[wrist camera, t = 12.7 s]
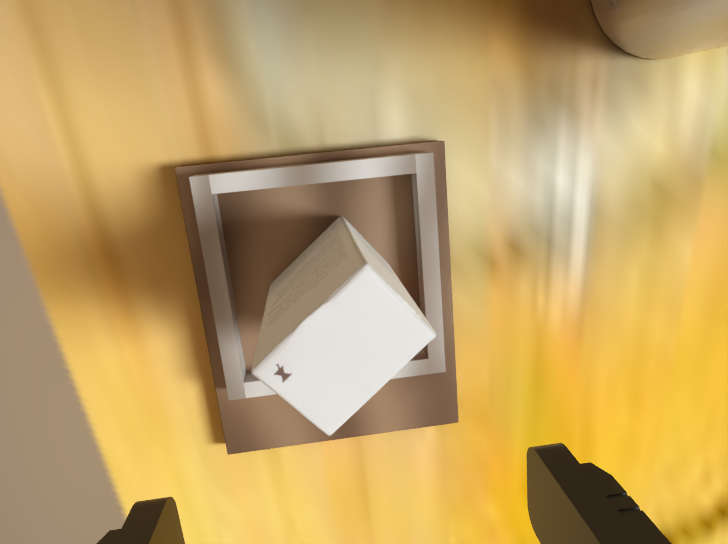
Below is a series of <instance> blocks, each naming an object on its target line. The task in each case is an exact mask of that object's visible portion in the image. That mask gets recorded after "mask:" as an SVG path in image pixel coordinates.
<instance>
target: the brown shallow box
mask: <svg viewBox="0 0 728 544" xmlns="http://www.w3.org/2000/svg"><path fill="white" fill-rule="evenodd" d="M175 171H176V176H177V182H178V187H179V193H180V198H181V204H182V209H183V214H184V220H185V225H186V231H187V236H188V241H189V247H190V252H191V258H192V263H193V269H194V274H195V279H196V285H197V290H198V296H199V301H200V307H201V312H202V317H203V323H204V328H205V334H206V339H207V344H208V350H209V355H210V361H211V366H212V372H213V377H214V382H215V388H216V393H217V399H218V404H219V410H220V415H221V420H222V426H223V431H224V437H225V442H226V447H227V453H228V454H235V453H242V452H250V451H257V450H264V449H271V448H278V447H285V446H293V445H300V444H307V443H314V442H321V441H328V440H335V439H343V438H350V437H357V436H364V435H371V434H378V433H386V432H393V431H400V430H407V429H414V428H421V427H429V426H436V425H443V424H450V423H457V422H458V404H457V384H456V364H455V345H454V325H453V305H452V286H451V266H450V246H449V226H448V207H447V187H446V167H445V148H444V141H432V142H422V143H412V144H402V145H392V146H381V147H371V148H361V149H351V150H341V151H331V152H321V153H310V154H300V155H290V156H280V157H270V158H260V159H250V160H239V161H229V162H219V163H209V164H199V165H189V166H179V167H175ZM340 216H342V217H344V218H345V219H346V220H347V221H348V222H349V223H350V224H351V225H352V226H353V227H354V228H355V229H356V230H357V231H358V232H359V233H360V234H361V235H362V237H363V238H364V239H365V240H366V241H367V242H368V243H369V244H370V245H371V246H372V247H373V248H374V249H375V250H376V251H377V252H378V253H379V254H380V255H381V256H382V257H383V258H384V259H385V261H386V262H387V263H388V264H389V265H390V267H391V268H392V270H393V271H394V273H395V274H396V276H397V277H398V278H399V280H400V281H401V283H402V284H403V286H404V287H405V289H406V290H407V292H408V293H409V295H410V296H411V297H412V299H413V300H414V302H415V303H416V305H417V306H418V307H419V309H420V310H421V312H422V313H423V315H424V316H425V318H426V319H427V320H428V322H429V323H430V325H431V326H432V328H433V329H434V331H435V332H436V337H435V338H434V339H433V340H431V341H430V342H429V343H428V344H427V345H426V346H425V347H424V348H423V349H422V350H421V351H420V352H418V353H417V354H416V355H415V356H414V357H413V358H412V359H411V360H410V361H409V362H408V363H407V364H406V365H405V366H404V367H403V368H402V369H400V370H399V371H398V372H397V373H396V374H395V375H394V376H393V377H392V378H391V379H390V380H389V381H388V382H387V383H386V384H385V385H384V386H383V387H382V388H381V389H380V390H379V391H378V392H377V393H375V394H374V395H373V396H372V397H371V398H370V399H369V400H368V401H367V402H366V403H365V404H364V405H363V406H362V407H361V408H360V409H359V410H358V411H356V412H355V413H354V414H353V415H352V416H351V417H350V418H349V419H348V420H347V421H346V422H345V423H344V424H343V425H342V426H340V427H339V428H338V429H337V430H336V431H335V432H334V433H333V434H332V435H330V436H328V435H327V434H325V433H324V432H323V431H322V430H320V429H319V428H318V427H317V426H316V425H314V424H313V423H312V422H311V421H309V420H308V419H307V418H306V417H305V416H303V415H302V414H301V413H300V412H299V411H297V410H296V409H295V408H294V407H292V406H291V405H290V404H289V403H287V402H286V401H285V400H284V399H283V398H281V397H280V396H279V395H278V394H276V393H275V392H274V391H273V390H271V389H270V388H269V387H268V386H266V385H265V384H264V383H263V382H261V381H260V380H259V379H258V378H256V377H255V376H254V375H253V374H252V373H251V370H252V364H253V360H254V355H255V350H256V346H257V342H258V338H259V333H260V328H261V324H262V320H263V315H264V311H265V306H266V301H267V296H268V292H269V288H270V284H271V283H272V282H273V281H274V280H275V279H276V278H277V277H278V276H279V275H280V274H281V273H282V272H283V271H285V270H286V269H287V268H288V267H289V266H290V265H291V264H292V263H293V262H294V261H295V260H296V259H297V258H298V257H299V256H300V255H301V254H302V253H303V252H304V251H305V250H306V249H307V248H308V247H309V246H310V245H311V244H312V243H313V242H314V241H315V240H316V239H317V238H318V237H319V236H320V235H321V234H322V233H323V232H324V231H325V230H326V229H327V228H328V227H329V226H330V225H331V224H332V223H333V222H334V221H335V220H337V219H338V218H339V217H340Z"/></svg>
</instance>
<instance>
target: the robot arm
mask: <svg viewBox="0 0 728 544" xmlns="http://www.w3.org/2000/svg"><path fill="white" fill-rule="evenodd" d="M591 3H592V7H593V10H594V14H595V16H596V18H597V20H598V22H599V24H600V26H601V28H602V30H603V31H604V32H605V33H606V35H607V36H608V37H609V38H610V39H611V41H612V42H613V43H615V44H616V45H617V46H619V47H620V48H621V49H623V50H624V51H625V52H628V53H630V54H633V55H635V56H638V57H641V58H648V59H665V58H673V57H677V56H682V55H686V54H691V53H696V52H700V51H705V50H710V49H714V48H720V47H725V46H728V0H591ZM527 498H528V511H529V516H530V520H531V524H532V527H533V529H534V532H535V534H536V536H537V538H538V539H539V541H540V543H541V544H671V543H670V542H669V541H668V539H667V538H666V537H665V536H664V535H663V534H662V532H661V531H660V530H659V529H658V528H657V527H656V526H655V524H654V523H653V522H652V521H651V520H650V519H649V518H648V516H647V515H646V514H645V513H644V512H643V511H640V509H639V506H638V505H637V504H636V503H635V501H634V500H633V499H632V498H631V497H630V496H628V495H627V492H626V491H625V490H624V489H623V488H622V487H621V485H620V484H619V483H618V482H617V481H616V480H615V478H614V477H613V476H612V475H610V474H608V473H607V472H605V471H604V470H602V469H600V468H599V467H597V466H595V465H594V464H592V463H591V462H590V463H583V464H580V463H579V462H578V461H577V460H576V458H575V457H574V456H573V455H572V453H571V452H570V451H569V450H568V448H567V447H566V446H565V445H564V444H562V443H557V444H550V445H543V446H536V447H530V448H529V449H528V451H527ZM97 544H185V542H184V537H183V533H182V529H181V524H180V520H179V515H178V511H177V506H176V503H175V500H174V499H173V498H172V497H167V498H160V499H153V500H145V501H138V502H136V503H135V504H134V505H133V507H132V509H131V511H130V513H129V515H128V517H127V519H126V521H125V523H124V525H123V527H122V529H117V530H110V531H109V532H108V533H107V534H106V535H105V536H104V537H103V538H102V539H101V540H100V541H99V542H98V543H97Z"/></svg>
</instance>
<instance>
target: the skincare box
mask: <svg viewBox="0 0 728 544" xmlns="http://www.w3.org/2000/svg"><path fill="white" fill-rule="evenodd" d="M435 337H436V332H435V331H434V329H433V328H432V326H431V325H430V323H429V322H428V320H427V319H426V318H425V316H424V315H423V313H422V312H421V310H420V309H419V307H418V306H417V305H416V303H415V302H414V300H413V299H412V297H411V296H410V295H409V293H408V292H407V290H406V289H405V287H404V286H403V284H402V283H401V281H400V280H399V278H398V277H397V276H396V274H395V273H394V271H393V270H392V268H391V267H390V265H389V264H388V263H387V262H386V261H385V259H384V258H383V257H382V256H381V255H380V254H379V253H378V252H377V251H376V250H375V249H374V248H373V247H372V246H371V245H370V244H369V243H368V242H367V241H366V240H365V239H364V238H363V237H362V235H361V234H360V233H359V232H358V231H357V230H356V229H355V228H354V227H353V226H352V225H351V224H350V223H349V222H348V221H347V220H346V219H345V218H344V217H342V216H340V217H339V218H338V219H337V220H335V221H334V222H333V223H332V224H331V225H330V226H329V227H328V228H327V229H326V230H325V231H324V232H323V233H322V234H321V235H320V236H319V237H318V238H317V239H316V240H315V241H314V242H313V243H312V244H311V245H310V246H309V247H308V248H307V249H306V250H305V251H304V252H303V253H302V254H301V255H300V256H299V257H298V258H297V259H296V260H295V261H294V262H293V263H292V264H291V265H290V266H289V267H288V268H287V269H286V270H285V271H283V272H282V273H281V274H280V275H279V276H278V277H277V278H276V279H275V280H274V281H273V282H272V283H271V284H270V288H269V292H268V296H267V301H266V306H265V311H264V315H263V320H262V324H261V328H260V333H259V338H258V342H257V346H256V350H255V355H254V360H253V364H252V370H251V373H252V374H253V375H254V376H255V377H256V378H258V379H259V380H260V381H261V382H263V383H264V384H265V385H266V386H268V387H269V388H270V389H271V390H273V391H274V392H275V393H276V394H278V395H279V396H280V397H281V398H283V399H284V400H285V401H286V402H287V403H289V404H290V405H291V406H292V407H294V408H295V409H296V410H297V411H299V412H300V413H301V414H302V415H303V416H305V417H306V418H307V419H308V420H309V421H311V422H312V423H313V424H314V425H316V426H317V427H318V428H319V429H320V430H322V431H323V432H324V433H325V434H327V435H328V436H330V435H332V434H333V433H334V432H335V431H336V430H337V429H338V428H339V427H340V426H342V425H343V424H344V423H345V422H346V421H347V420H348V419H349V418H350V417H351V416H352V415H353V414H354V413H355V412H356V411H358V410H359V409H360V408H361V407H362V406H363V405H364V404H365V403H366V402H367V401H368V400H369V399H370V398H371V397H372V396H373V395H374V394H375V393H377V392H378V391H379V390H380V389H381V388H382V387H383V386H384V385H385V384H386V383H387V382H388V381H389V380H390V379H391V378H392V377H393V376H394V375H395V374H396V373H397V372H398V371H399V370H400V369H402V368H403V367H404V366H405V365H406V364H407V363H408V362H409V361H410V360H411V359H412V358H413V357H414V356H415V355H416V354H417V353H418V352H420V351H421V350H422V349H423V348H424V347H425V346H426V345H427V344H428V343H429V342H430V341H431V340H433V339H434V338H435Z"/></svg>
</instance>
